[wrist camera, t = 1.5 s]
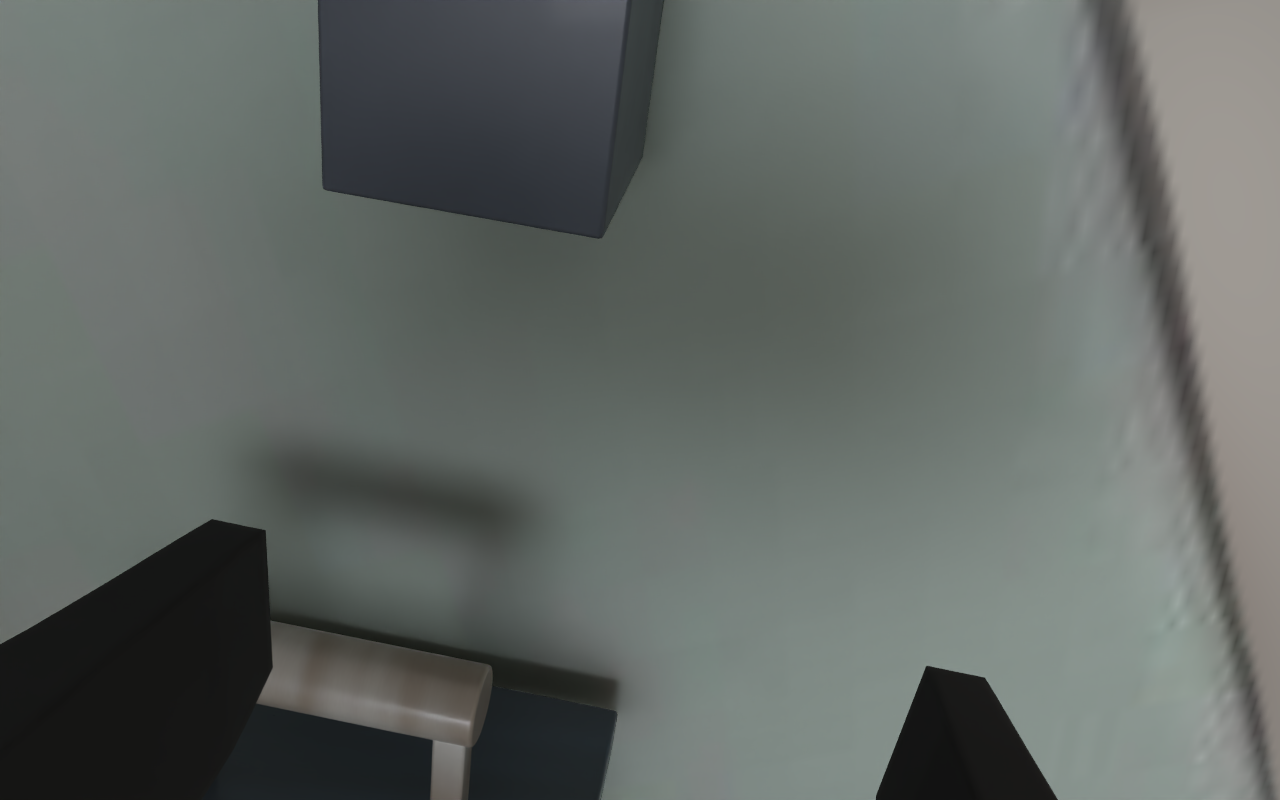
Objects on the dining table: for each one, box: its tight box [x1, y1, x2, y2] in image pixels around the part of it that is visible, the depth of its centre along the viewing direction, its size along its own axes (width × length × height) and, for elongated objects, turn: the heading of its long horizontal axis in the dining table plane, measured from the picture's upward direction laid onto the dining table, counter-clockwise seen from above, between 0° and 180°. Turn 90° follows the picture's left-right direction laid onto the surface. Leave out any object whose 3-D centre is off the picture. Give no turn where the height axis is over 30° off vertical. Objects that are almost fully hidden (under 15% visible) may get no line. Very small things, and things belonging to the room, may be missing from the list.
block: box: [318, 0, 664, 239], centre depth 15 cm, size 4×4×4 cm
